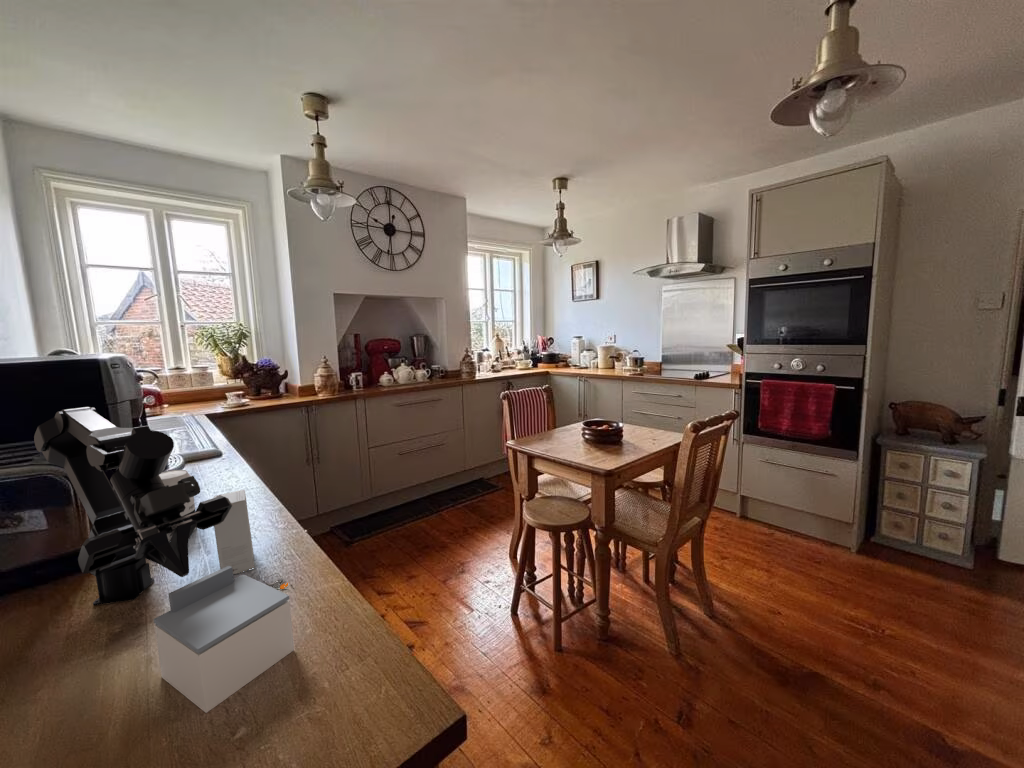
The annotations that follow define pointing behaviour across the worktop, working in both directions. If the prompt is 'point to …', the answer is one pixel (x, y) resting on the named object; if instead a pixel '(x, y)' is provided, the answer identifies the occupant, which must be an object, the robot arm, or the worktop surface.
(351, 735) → the worktop surface
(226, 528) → the skincare box
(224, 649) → the mailer box
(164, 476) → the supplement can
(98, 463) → the robot arm
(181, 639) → the lid
